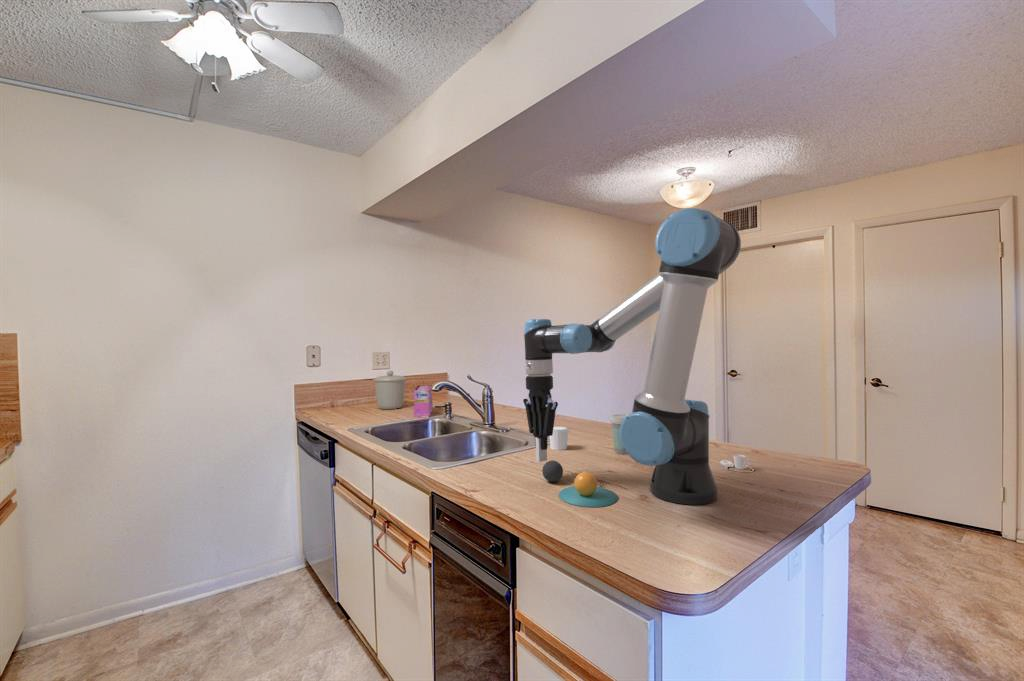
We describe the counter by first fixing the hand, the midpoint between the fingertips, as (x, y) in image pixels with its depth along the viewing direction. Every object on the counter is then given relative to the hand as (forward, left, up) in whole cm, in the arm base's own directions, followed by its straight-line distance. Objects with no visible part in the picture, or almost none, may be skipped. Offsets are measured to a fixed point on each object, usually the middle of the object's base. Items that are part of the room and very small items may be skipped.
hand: (541, 460), depth 121 cm
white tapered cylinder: (+22, -24, -5) cm, 32 cm away
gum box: (+118, -13, -5) cm, 118 cm away
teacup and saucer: (-25, -53, -5) cm, 59 cm away
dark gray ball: (-5, 0, -2) cm, 5 cm away
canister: (+146, -5, -5) cm, 146 cm away
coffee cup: (+5, -38, -5) cm, 38 cm away
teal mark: (-18, 0, -4) cm, 19 cm away
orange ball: (-18, 0, -2) cm, 18 cm away
